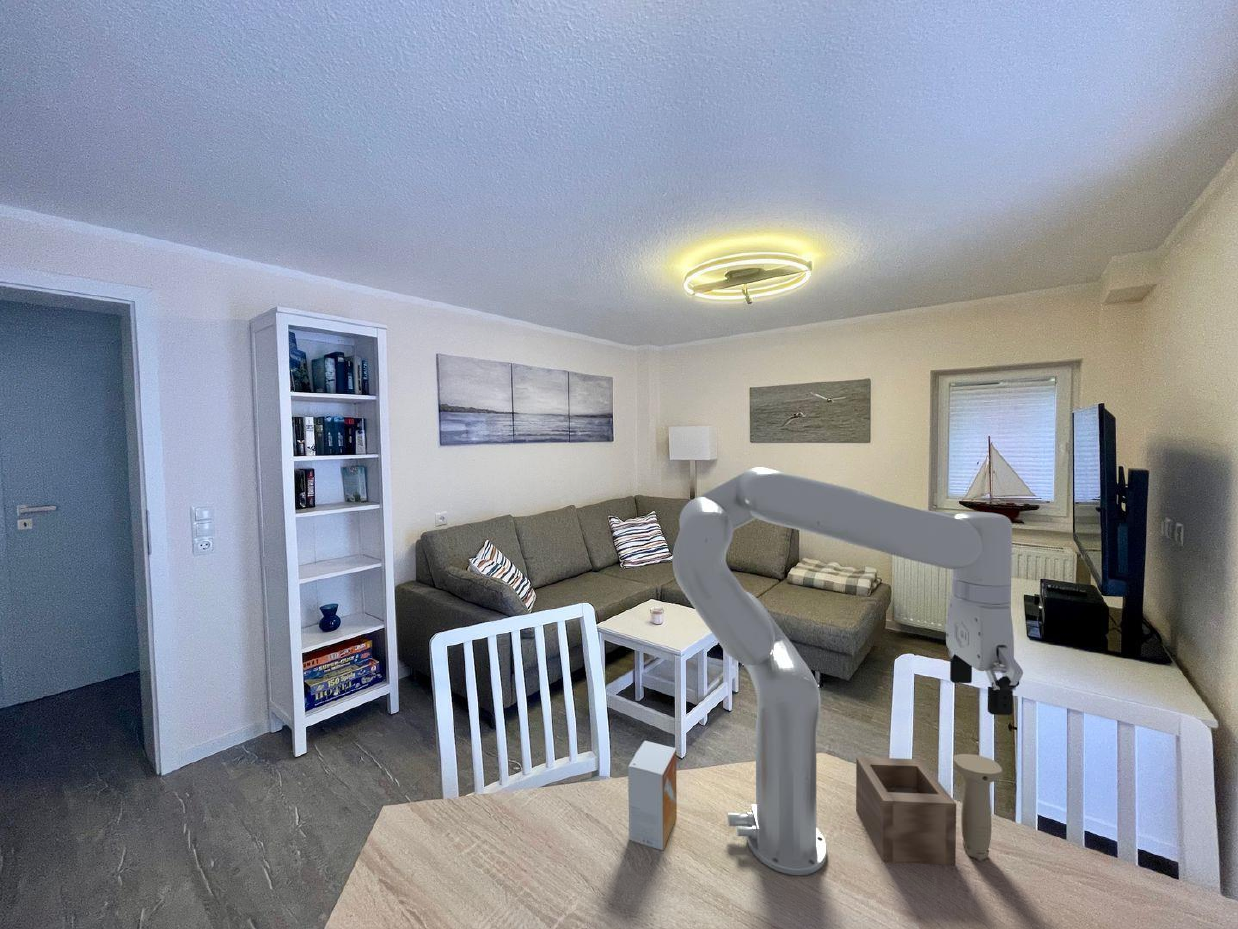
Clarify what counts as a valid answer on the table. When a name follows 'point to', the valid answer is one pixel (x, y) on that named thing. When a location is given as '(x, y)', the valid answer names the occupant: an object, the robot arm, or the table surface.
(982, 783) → the handle
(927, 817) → the sleeve
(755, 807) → the robot arm
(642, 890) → the table surface
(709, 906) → the table surface
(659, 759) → the small box
